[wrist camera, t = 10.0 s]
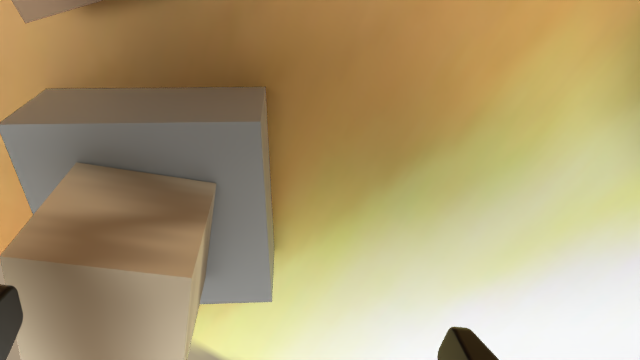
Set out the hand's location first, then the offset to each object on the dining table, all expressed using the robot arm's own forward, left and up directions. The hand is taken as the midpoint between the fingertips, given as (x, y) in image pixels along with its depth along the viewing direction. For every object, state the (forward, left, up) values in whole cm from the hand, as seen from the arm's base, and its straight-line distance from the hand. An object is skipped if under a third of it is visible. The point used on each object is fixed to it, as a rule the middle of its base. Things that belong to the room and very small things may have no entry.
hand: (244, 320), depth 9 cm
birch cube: (+4, +4, -8) cm, 10 cm away
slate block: (+4, +4, -12) cm, 13 cm away
